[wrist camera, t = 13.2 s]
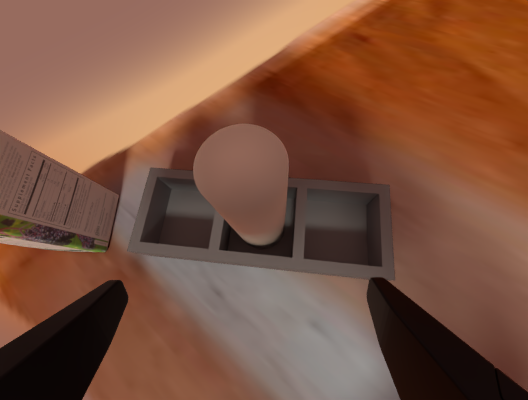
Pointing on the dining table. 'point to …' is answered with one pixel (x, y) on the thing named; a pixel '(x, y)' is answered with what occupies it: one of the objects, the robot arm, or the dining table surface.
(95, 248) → the syrup box
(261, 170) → the beige tapered cylinder
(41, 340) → the robot arm
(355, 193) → the caddy
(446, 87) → the dining table surface
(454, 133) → the dining table surface
